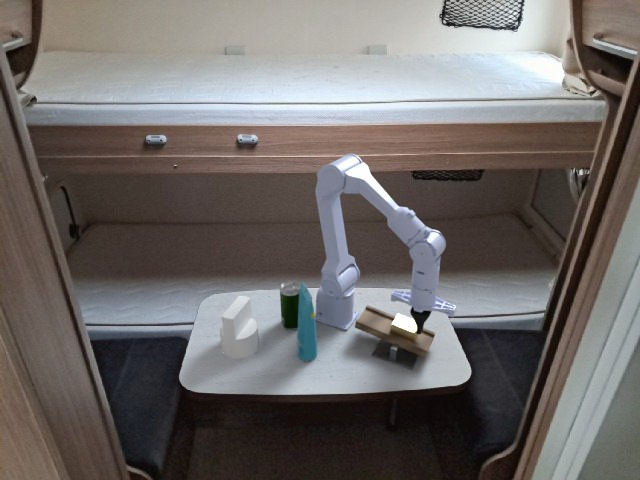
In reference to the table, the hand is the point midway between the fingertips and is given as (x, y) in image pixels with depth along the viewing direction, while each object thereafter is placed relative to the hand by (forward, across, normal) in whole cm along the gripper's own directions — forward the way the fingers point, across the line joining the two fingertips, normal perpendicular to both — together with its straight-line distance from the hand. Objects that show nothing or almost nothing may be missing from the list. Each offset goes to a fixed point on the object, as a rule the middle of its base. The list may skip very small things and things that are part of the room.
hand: (419, 331), depth 111 cm
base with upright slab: (+5, -39, -18) cm, 44 cm away
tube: (+6, -23, -13) cm, 27 cm away
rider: (+2, -4, 0) cm, 4 cm away
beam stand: (+6, -4, 0) cm, 7 cm away
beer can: (+6, -32, -5) cm, 33 cm away
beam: (+3, -6, 0) cm, 7 cm away
